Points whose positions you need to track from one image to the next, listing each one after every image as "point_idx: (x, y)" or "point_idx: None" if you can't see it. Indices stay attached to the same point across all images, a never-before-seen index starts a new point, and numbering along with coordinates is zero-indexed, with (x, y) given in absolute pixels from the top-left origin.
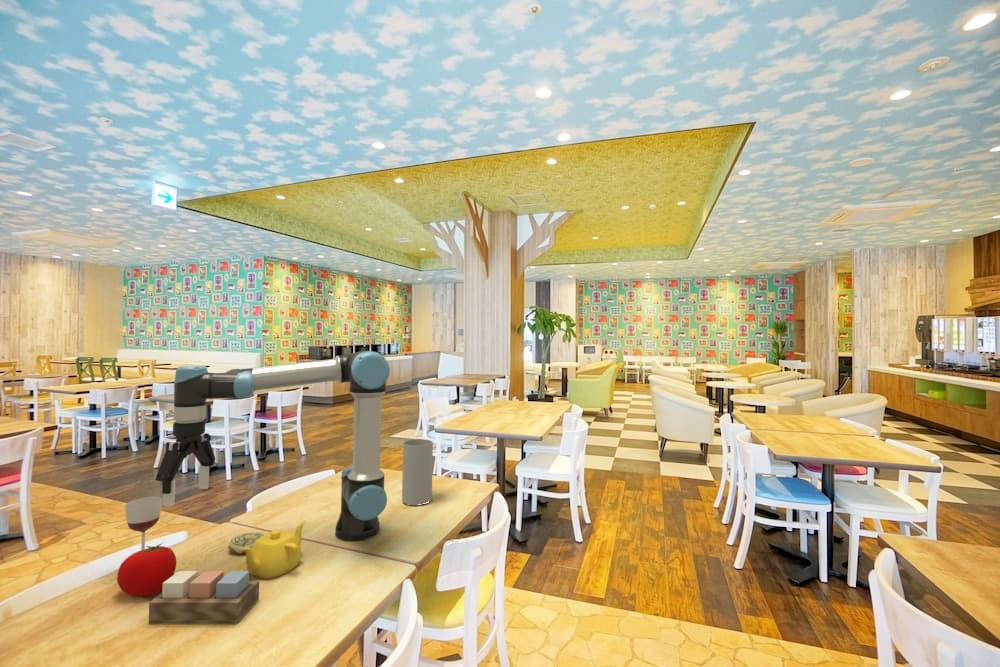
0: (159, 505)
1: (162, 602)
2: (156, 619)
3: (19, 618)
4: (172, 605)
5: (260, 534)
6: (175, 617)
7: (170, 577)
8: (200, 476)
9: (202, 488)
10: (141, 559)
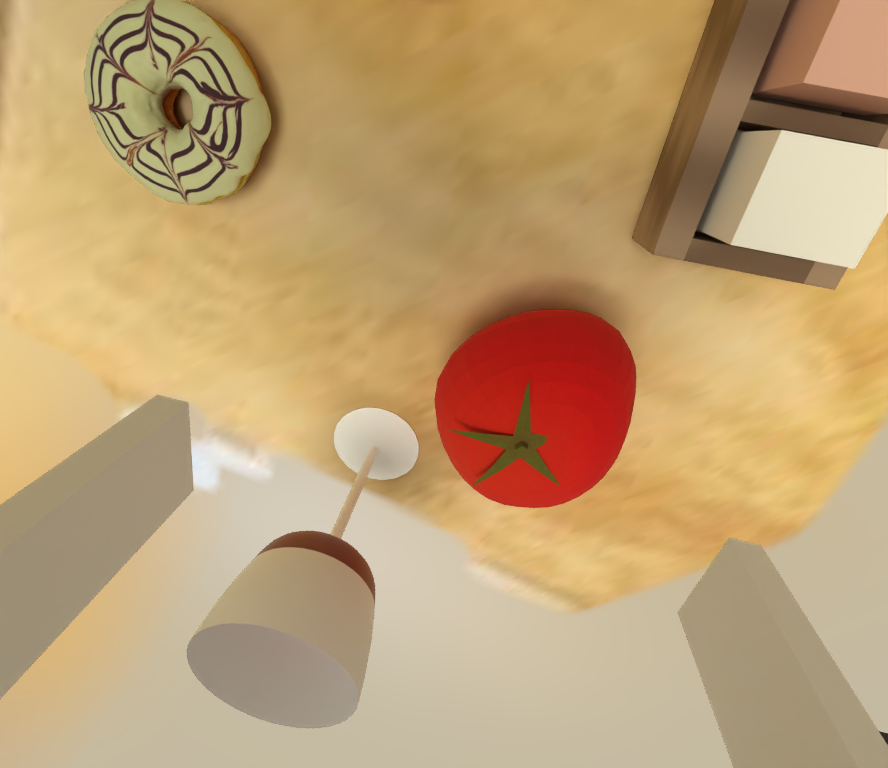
0: (270, 599)
1: None
2: None
3: (596, 592)
4: None
5: (106, 45)
6: None
7: (800, 256)
8: (75, 590)
9: (189, 450)
10: (609, 449)
